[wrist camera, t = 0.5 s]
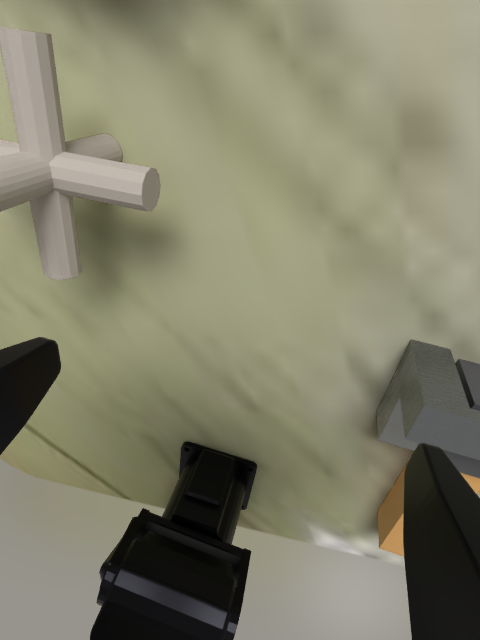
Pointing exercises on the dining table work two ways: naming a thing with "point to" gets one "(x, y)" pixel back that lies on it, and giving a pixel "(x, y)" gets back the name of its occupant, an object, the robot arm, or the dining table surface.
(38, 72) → the pipe connector
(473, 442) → the frame
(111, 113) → the dining table surface
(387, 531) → the plug
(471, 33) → the dining table surface
